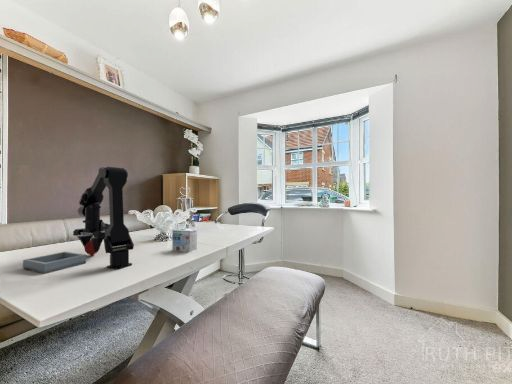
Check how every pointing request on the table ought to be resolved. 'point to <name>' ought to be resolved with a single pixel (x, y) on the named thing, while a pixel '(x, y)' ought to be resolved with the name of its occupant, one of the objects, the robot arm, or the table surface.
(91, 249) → the onion
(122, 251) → the robot arm
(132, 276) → the table surface
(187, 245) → the light bulb box
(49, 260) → the tray
